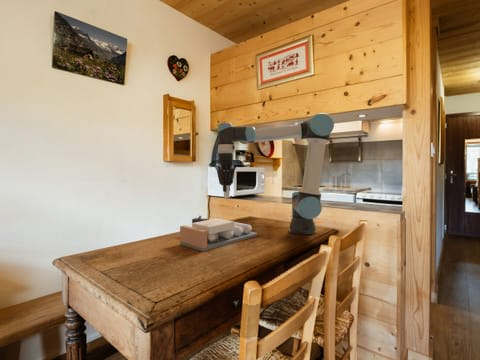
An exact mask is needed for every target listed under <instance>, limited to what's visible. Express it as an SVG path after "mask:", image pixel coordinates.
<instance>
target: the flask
mask: <svg viewBox="0 0 480 360" xmlns="http://www.w3.org/2000/svg"><path fill="white" fill-rule="evenodd" d="M206 220H209V219H208V218H206V217H205V218H202V215H198V217H194V218H192V219H191V224H192V223H195V222H200V221H206Z"/></svg>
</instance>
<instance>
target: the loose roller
mask: <svg viewBox="0 0 480 360" xmlns="http://www.w3.org/2000/svg"><path fill="white" fill-rule="evenodd" d="M217 241H218V234H217V233H214V234H207V242H210V243H216V242H217Z"/></svg>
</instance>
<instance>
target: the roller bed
mask: <svg viewBox="0 0 480 360" xmlns="http://www.w3.org/2000/svg"><path fill="white" fill-rule="evenodd" d="M233 222H234V229H230V230H226V231H222V232H218V233H217V234H218V241H217V242H216V243H210V242H207V231H206V230H201V229H197V228H193V227H192V226H188V225H180V226H179V238H180V245H182V246H185V247H188V248H190V249H194V250H197V251H200V252H207V251H210V250H213V249H217V248H220V247H224V246H228V245H231V244H234V243H238V242H241V241H245V240H248V239H253V238H255V237H256V238H257V237H259V233H258V232H254V231H252V230H253V228H252V225H251V224H248V223H247V224H246V223H241V222H236V221H233Z"/></svg>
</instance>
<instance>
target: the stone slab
mask: <svg viewBox="0 0 480 360" xmlns="http://www.w3.org/2000/svg"><path fill="white" fill-rule="evenodd" d="M234 222H235V221H233V220H228V219H222V218H217V217H216V218H212V219H211V218H210V219H208V220H206V221H200V222H195V223H192V222H191V227H193V228H197V229H201V230H206V231H207V234H214V233H218V232H222V231H226V230H230V229H234Z"/></svg>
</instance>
